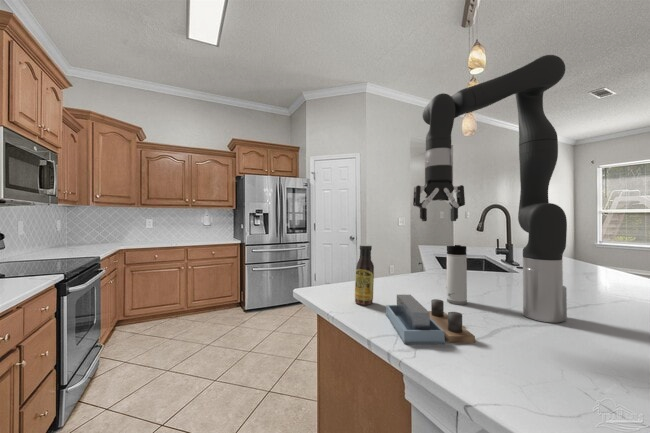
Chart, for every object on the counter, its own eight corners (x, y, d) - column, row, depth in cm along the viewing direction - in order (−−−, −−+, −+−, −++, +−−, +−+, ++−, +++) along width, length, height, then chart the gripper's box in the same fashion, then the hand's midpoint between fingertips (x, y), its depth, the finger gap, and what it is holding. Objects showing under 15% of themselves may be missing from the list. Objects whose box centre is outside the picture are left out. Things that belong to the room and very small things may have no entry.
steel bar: (410, 315, 82) (410, 294, 83) (429, 338, 66) (429, 312, 67) (396, 315, 83) (396, 294, 83) (412, 338, 67) (412, 312, 67)
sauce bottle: (352, 304, 95) (351, 245, 96) (358, 299, 101) (358, 244, 101) (370, 307, 92) (370, 246, 92) (376, 302, 98) (376, 244, 98)
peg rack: (443, 316, 83) (442, 297, 83) (474, 342, 65) (474, 318, 65) (422, 316, 83) (422, 297, 84) (449, 342, 65) (448, 318, 66)
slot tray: (417, 315, 84) (416, 305, 84) (444, 344, 65) (444, 331, 65) (386, 315, 84) (386, 305, 84) (404, 344, 65) (404, 330, 65)
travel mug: (448, 304, 95) (447, 245, 95) (445, 299, 101) (445, 243, 102) (468, 306, 93) (468, 245, 93) (465, 300, 100) (464, 243, 100)
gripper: (456, 168, 87) (457, 221, 86) (410, 168, 87) (410, 221, 87) (469, 163, 79) (469, 221, 79) (418, 163, 79) (418, 221, 79)
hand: (438, 221), depth 83 cm, fingers open, 8 cm apart
